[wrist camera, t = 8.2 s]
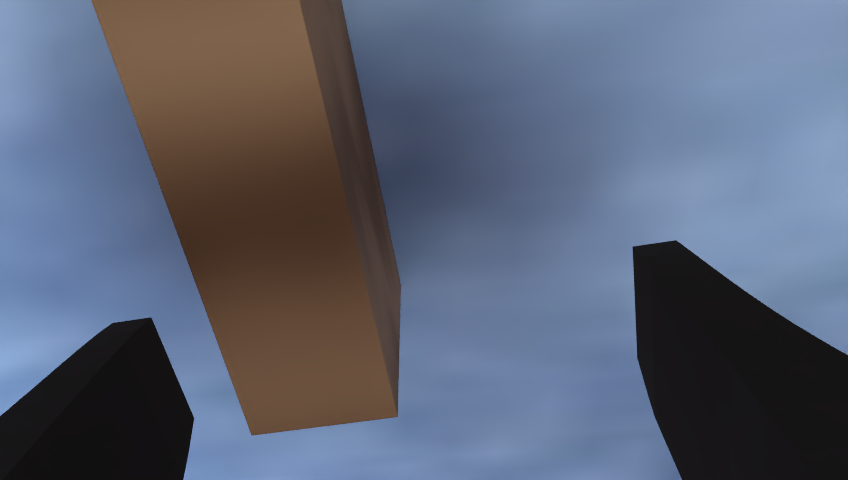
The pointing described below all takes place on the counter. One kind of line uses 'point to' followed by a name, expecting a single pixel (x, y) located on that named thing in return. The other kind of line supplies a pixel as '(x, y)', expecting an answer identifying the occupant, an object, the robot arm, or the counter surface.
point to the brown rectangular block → (270, 197)
